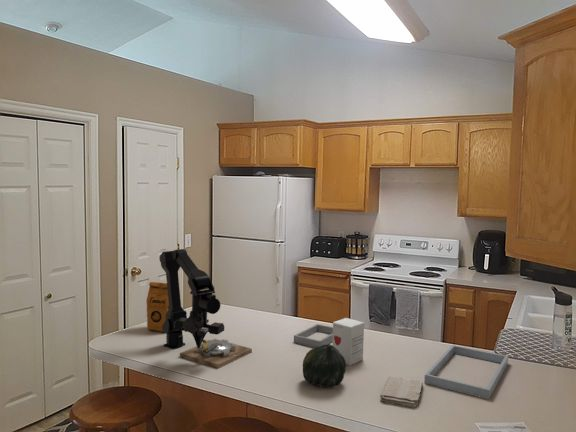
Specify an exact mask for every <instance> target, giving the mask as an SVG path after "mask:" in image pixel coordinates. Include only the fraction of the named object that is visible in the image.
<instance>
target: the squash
mask: <svg viewBox="0 0 576 432" xmlns="http://www.w3.org/2000/svg"><path fill="white" fill-rule="evenodd" d="M332 345H333V344H330V343H329V344H327V345H322V346H319V347H316V348H315V347H312V349H310V350H308V352H306V354H305V357H304V358H303V361H302V375H303V378H304V380H305V381H306V382H307V383H309V384H313V385H314V386H318V385H319V387H325V388H327V389H332V388H334V387H337V386H339V385H340V384H341V383H342V382H343V380H344V378H345V377H344V376H345V374H346V372H347V364H346V361H345V359H344V357H343V356H342V354H341V353H340V352H339V351H338V350H337V349H336V348H335V347H334V346H332Z"/></svg>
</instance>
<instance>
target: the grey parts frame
mask: <svg viewBox="0 0 576 432" xmlns="http://www.w3.org/2000/svg"><path fill="white" fill-rule="evenodd" d="M317 332H319V333H325V334H328V335H327V336H325V337H323V338H322V339H315V338H310V337H309V336H311V335H314V334H315V333H317ZM293 343H295V344H300V345H303V346H308V347H312V348H316V347H319V346H322V345H328V344H329V345H330V344H331V343H333V326H329V325H324V324H319V323H316V324H314V325H312V326H310V327H308V328H306V329H304V330H302V331H301V332H299V333H296V334H295V335H293Z"/></svg>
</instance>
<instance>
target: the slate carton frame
mask: <svg viewBox="0 0 576 432" xmlns="http://www.w3.org/2000/svg"><path fill="white" fill-rule="evenodd" d="M454 354H456V355H458V356H459V355H460V356H465V357H470V358H474V359H479V360H484V361H489V362H494V363H498V364H499V366H498V368H497V369H496V371H495V373H494V375H493V377H492V379H491V380H490V382H489V383H488V386H486V387H482V386H479V385H475V384H470V383H467V382H462V381H457V380H453V379H449V378H445V377H440V376H437V375H436V374H437V373H439V371H440V370H441V369H442V368H443V366H444V365H445V364H446V363H447V362H448V361H449V360H450V359H451V357H452V356H453V355H454ZM508 364H509V356H508V355H505V354H500V353H494V352H490V351H484V350H479V349H475V348H470V347H464V346H459V345H454V344H452V345H451V346H450V347H449V348H448V349H447V350H446V351H445V352H444V353H443V354H442V355H441V356H440V357H439V358H438V360H437V361H436V362H434V364H433V365H432V366H431V367H430V368H429V370H427V372H425V374H424V382H423V384H426V383H427V385H430V384H431V385H430V386H434V385H435V386H434V387H439V388H441V389H442V388H443V389H447V390H450V391H454V392H458V391H459V393H462V394H466V395H470V394H471V395H470V396H474V395H476V396H475V397H478V396H480V397H479V398H482V397H483V398H482V399H486V398H487V399H486V400H490V398H491V397H490V396H492V395H493V393H494V390H495V389H496V387H497V385H498V383H499V381H500V379H501V377H503V374H504V373H505V370H506V368H507V366H508ZM434 375H435V376H434ZM491 394H492V395H491Z"/></svg>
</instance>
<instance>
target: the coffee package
mask: <svg viewBox="0 0 576 432" xmlns="http://www.w3.org/2000/svg"><path fill="white" fill-rule="evenodd" d="M148 285H149V288H148V292H147V297H146V318H147V320H146V325H147V327H146V330H149V331H157V332H162V333H164V332H163V330H162V326H163V324H164V322H165V321H166V314H167V311H168V309H169V300H168V289H167V282H166V283H164V282H157V281H155V282H154V281H150V282H149V284H148Z"/></svg>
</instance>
